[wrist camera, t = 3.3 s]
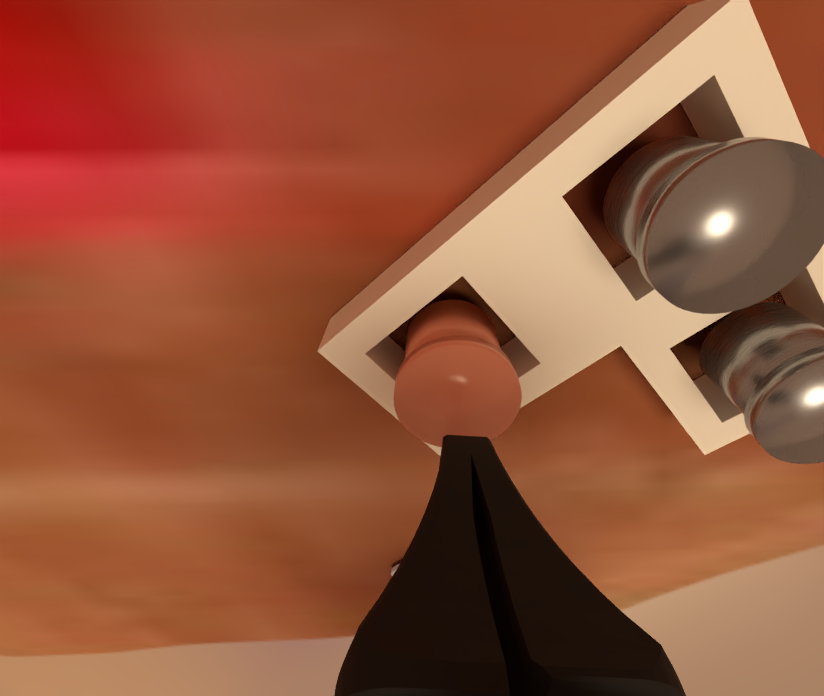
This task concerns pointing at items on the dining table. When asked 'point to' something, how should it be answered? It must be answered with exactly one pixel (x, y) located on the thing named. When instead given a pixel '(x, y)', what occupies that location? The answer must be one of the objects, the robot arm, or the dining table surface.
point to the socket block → (571, 244)
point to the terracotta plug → (455, 376)
